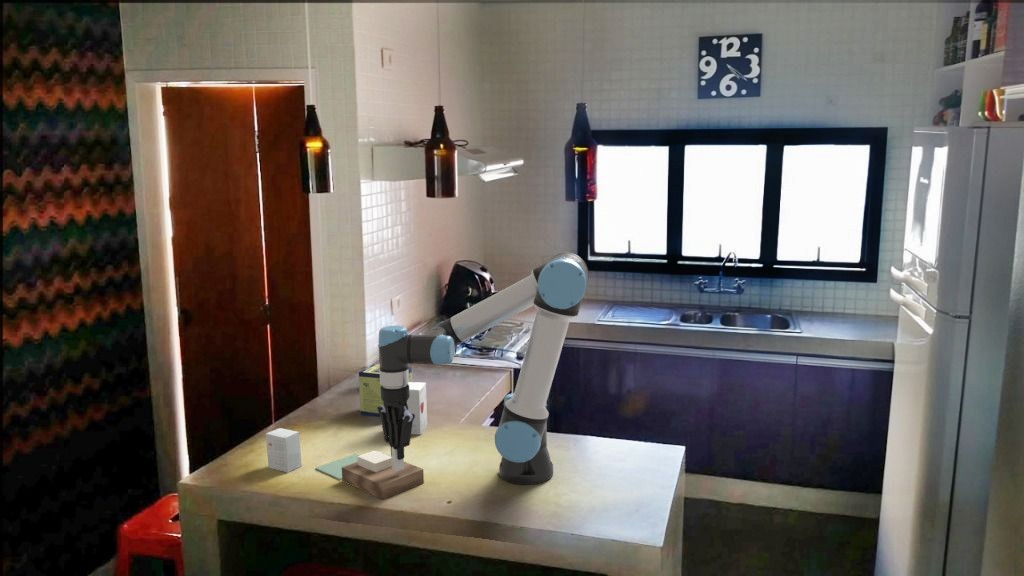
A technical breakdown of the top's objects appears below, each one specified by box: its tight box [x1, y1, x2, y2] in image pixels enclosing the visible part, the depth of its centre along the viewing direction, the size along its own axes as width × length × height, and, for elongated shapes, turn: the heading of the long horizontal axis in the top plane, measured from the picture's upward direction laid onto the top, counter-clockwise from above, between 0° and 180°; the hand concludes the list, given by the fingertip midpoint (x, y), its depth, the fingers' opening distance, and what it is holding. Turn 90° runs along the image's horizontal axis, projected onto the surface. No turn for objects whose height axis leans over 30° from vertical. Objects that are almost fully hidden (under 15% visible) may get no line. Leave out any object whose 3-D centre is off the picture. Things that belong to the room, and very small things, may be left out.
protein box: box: [358, 363, 413, 418], centre depth 282 cm, size 10×16×16 cm
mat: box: [315, 453, 360, 481], centre depth 236 cm, size 12×14×1 cm
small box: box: [265, 427, 302, 473], centre depth 236 cm, size 8×6×10 cm
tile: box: [357, 450, 392, 472], centre depth 227 cm, size 8×6×2 cm
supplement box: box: [407, 381, 428, 436], centre depth 265 cm, size 9×9×15 cm
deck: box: [341, 453, 425, 500], centre depth 225 cm, size 18×14×4 cm
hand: (398, 469), depth 220 cm, fingers closed
